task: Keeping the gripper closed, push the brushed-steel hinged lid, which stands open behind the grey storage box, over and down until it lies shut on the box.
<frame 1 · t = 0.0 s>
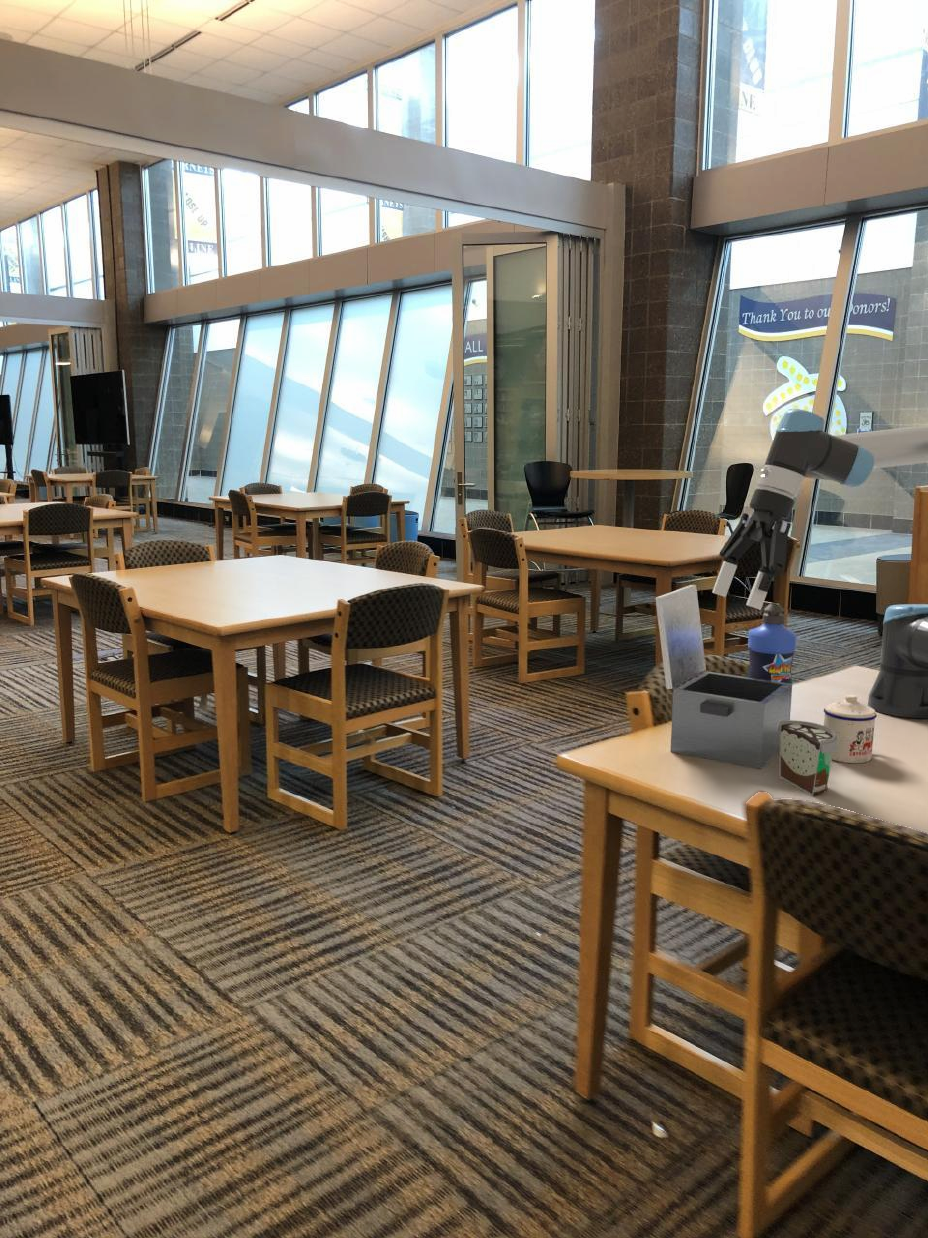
hand: (735, 601, 182), 28 cm above the table, tool tilted 20°, fingers open, 13 cm apart
food container: (811, 785, 165), on the table
teacup with lid: (850, 755, 181), on the table
water bottle: (766, 723, 200), on the table
grey storage box: (729, 747, 184), on the table
grey box lid: (676, 635, 186), point 20 cm above the table, hinge at 100.0°
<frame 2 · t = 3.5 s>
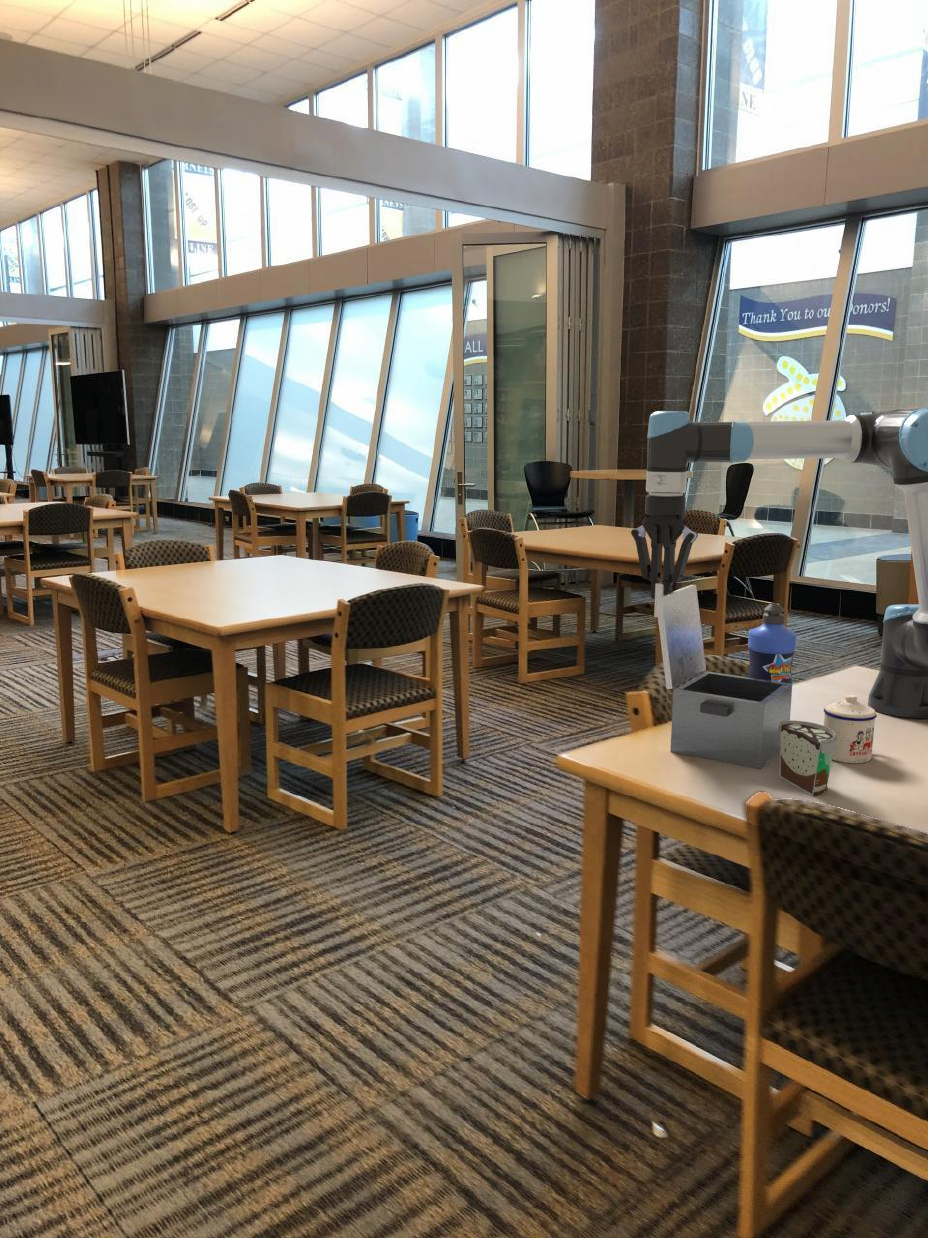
hand: (660, 615, 188), 24 cm above the table, tool pointing down, fingers closed
grey box lid: (676, 635, 186), point 20 cm above the table, hinge at 99.9°, touching gripper
everything else where it was.
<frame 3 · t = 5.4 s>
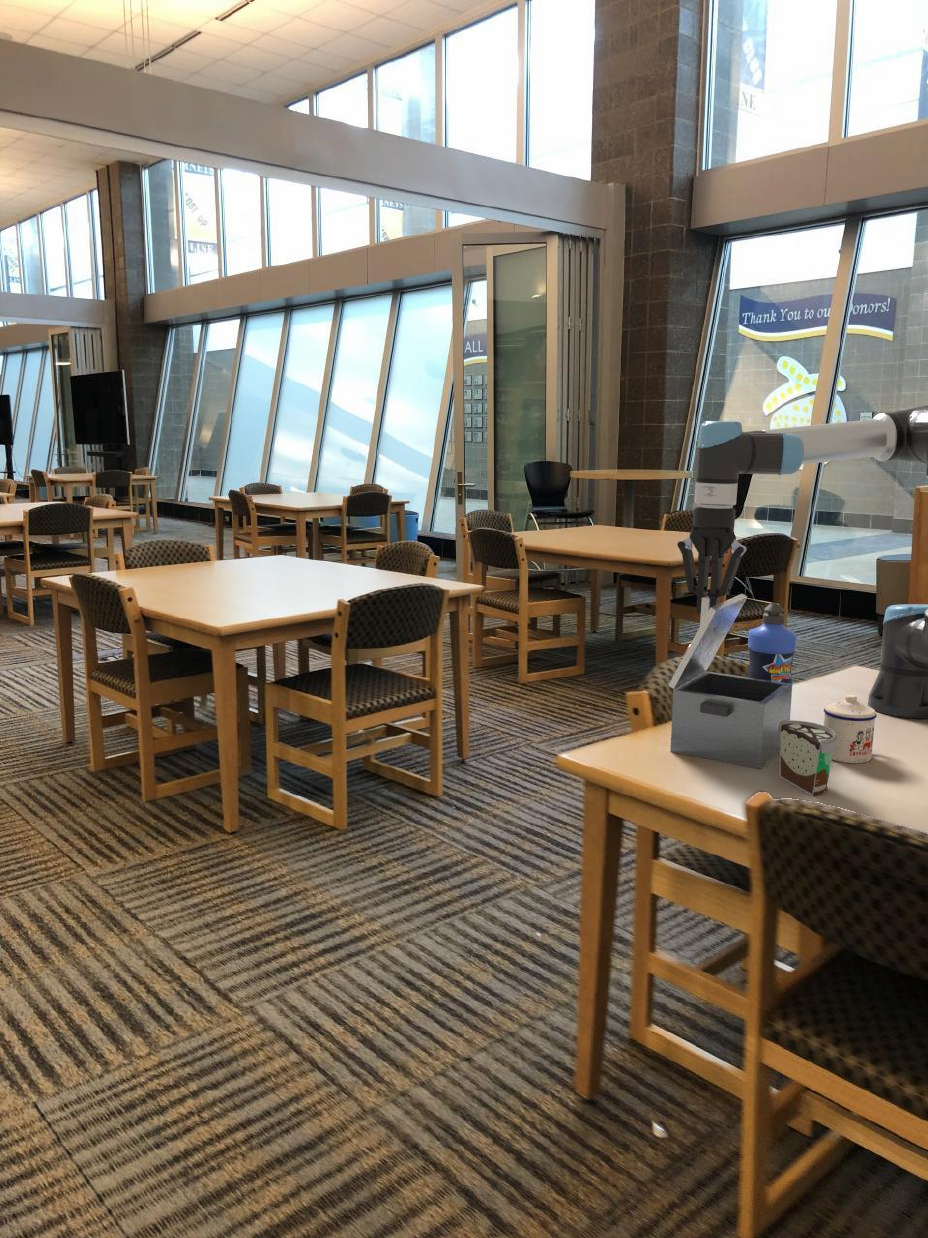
hand: (705, 630, 183), 22 cm above the table, tool pointing down, fingers closed
grey box lid: (704, 637, 183), point 21 cm above the table, hinge at 64.8°, touching gripper
everything else where it was.
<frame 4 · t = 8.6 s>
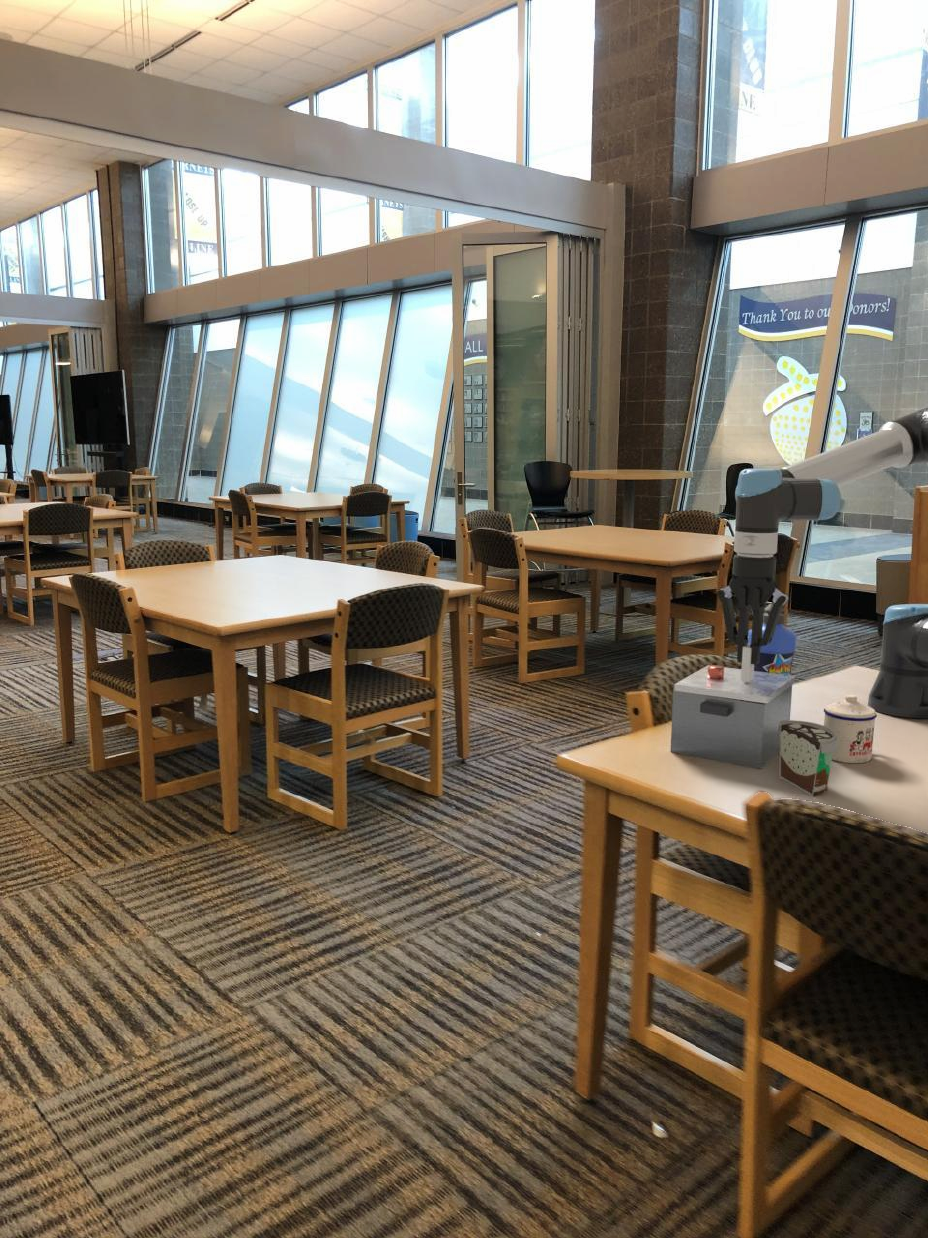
hand: (747, 680, 180), 14 cm above the table, tool pointing down, fingers closed
grey box lid: (735, 678, 181), point 14 cm above the table, hinge at 1.2°, touching gripper
everything else where it was.
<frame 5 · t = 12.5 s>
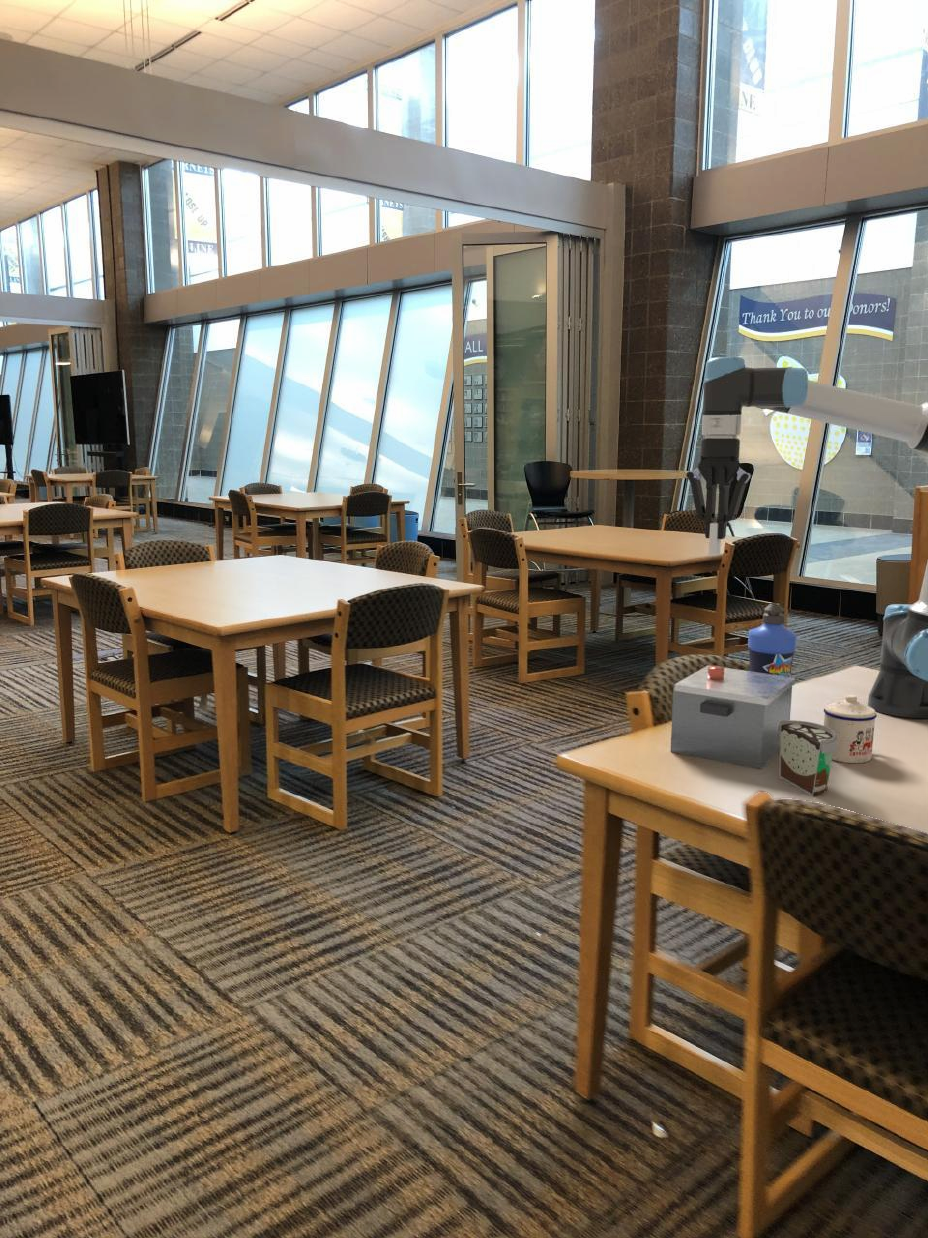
hand: (714, 554, 197), 34 cm above the table, tool pointing down, fingers closed
grey box lid: (735, 679, 181), point 14 cm above the table, hinge at 0.0°, touching grey storage box
everything else where it was.
at the end: grey box lid at +0° (first picture: +100°) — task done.
